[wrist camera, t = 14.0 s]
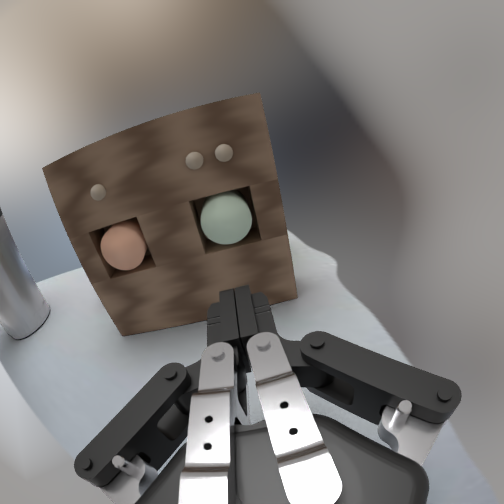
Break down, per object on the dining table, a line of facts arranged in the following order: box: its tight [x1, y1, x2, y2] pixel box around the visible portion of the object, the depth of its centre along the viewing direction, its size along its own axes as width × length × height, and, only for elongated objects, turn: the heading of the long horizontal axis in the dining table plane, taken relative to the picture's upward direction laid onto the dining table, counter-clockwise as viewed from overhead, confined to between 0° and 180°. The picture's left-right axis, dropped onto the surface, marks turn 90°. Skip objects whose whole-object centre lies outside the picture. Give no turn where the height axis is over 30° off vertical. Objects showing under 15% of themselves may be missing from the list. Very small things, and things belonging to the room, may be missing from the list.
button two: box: [201, 189, 252, 244], centre depth 26 cm, size 4×3×4 cm
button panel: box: [42, 93, 298, 336], centre depth 26 cm, size 20×4×20 cm, turn 97°
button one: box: [101, 217, 148, 270], centre depth 26 cm, size 4×3×4 cm
